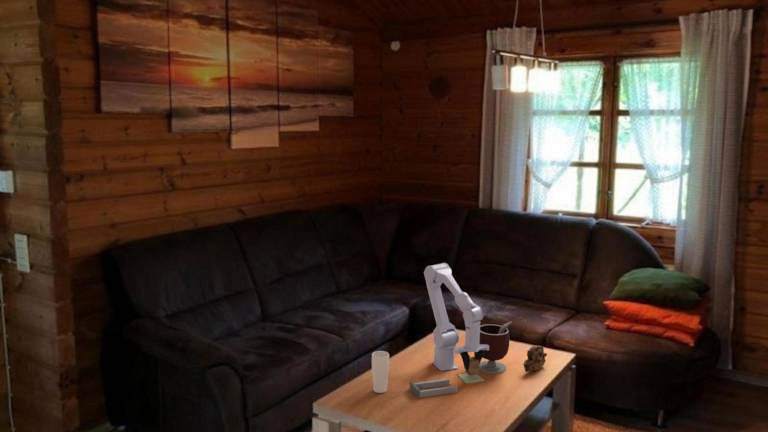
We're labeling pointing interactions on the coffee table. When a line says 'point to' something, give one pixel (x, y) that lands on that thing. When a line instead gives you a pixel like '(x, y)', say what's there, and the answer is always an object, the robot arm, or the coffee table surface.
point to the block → (473, 366)
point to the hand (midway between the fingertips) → (471, 368)
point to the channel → (419, 387)
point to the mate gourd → (494, 347)
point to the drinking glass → (380, 371)
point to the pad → (470, 378)
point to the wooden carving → (535, 358)
